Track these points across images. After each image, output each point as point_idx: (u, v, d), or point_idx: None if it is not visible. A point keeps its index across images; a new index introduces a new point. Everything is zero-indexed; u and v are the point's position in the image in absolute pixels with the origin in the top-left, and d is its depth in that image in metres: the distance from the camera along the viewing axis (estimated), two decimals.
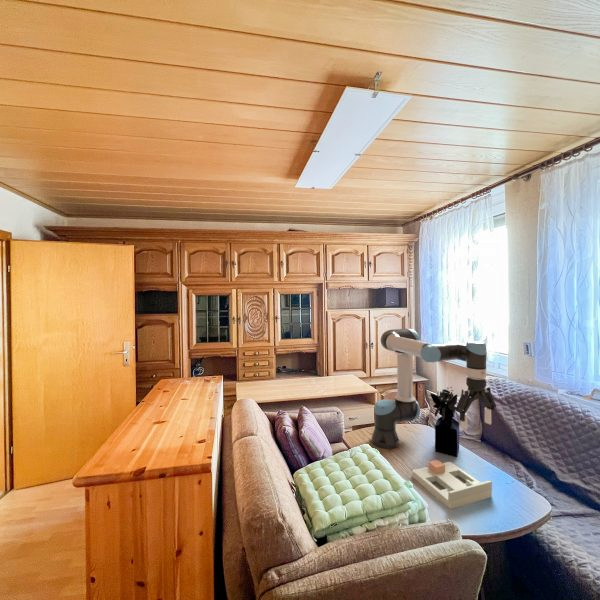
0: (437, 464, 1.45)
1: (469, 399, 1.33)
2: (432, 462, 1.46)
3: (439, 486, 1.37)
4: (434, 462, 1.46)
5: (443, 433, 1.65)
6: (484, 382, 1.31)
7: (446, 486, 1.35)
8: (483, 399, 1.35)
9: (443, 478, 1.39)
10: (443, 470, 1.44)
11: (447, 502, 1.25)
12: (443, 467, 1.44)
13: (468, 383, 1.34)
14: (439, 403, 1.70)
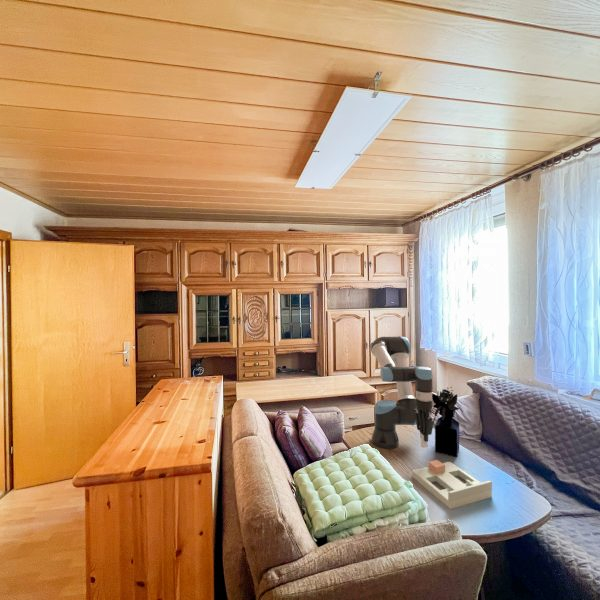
0: (437, 464, 1.45)
1: None
2: (432, 462, 1.46)
3: (439, 486, 1.37)
4: (434, 462, 1.46)
5: (443, 433, 1.65)
6: (418, 402, 1.51)
7: (446, 486, 1.35)
8: None
9: (443, 478, 1.39)
10: (443, 470, 1.44)
11: (447, 502, 1.25)
12: (443, 467, 1.44)
13: None
14: (439, 403, 1.70)
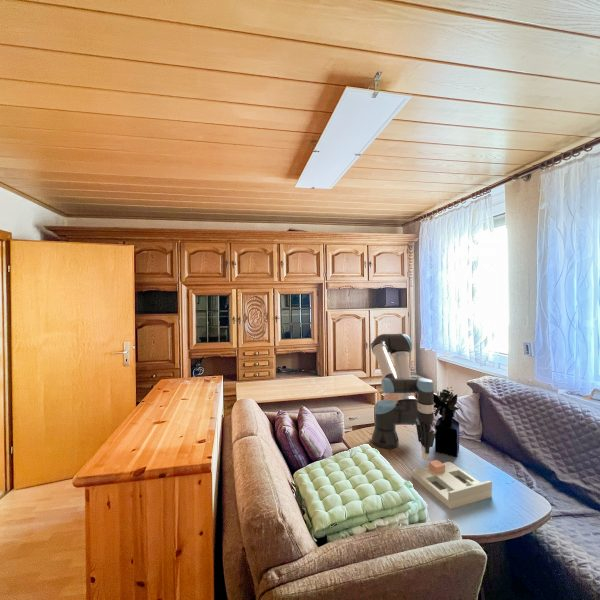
0: (437, 464, 1.45)
1: None
2: (432, 462, 1.46)
3: (439, 486, 1.37)
4: (434, 462, 1.46)
5: (443, 433, 1.65)
6: (419, 415, 1.50)
7: (446, 486, 1.35)
8: None
9: (443, 478, 1.39)
10: (443, 470, 1.44)
11: (447, 502, 1.25)
12: (443, 467, 1.44)
13: None
14: (439, 403, 1.70)
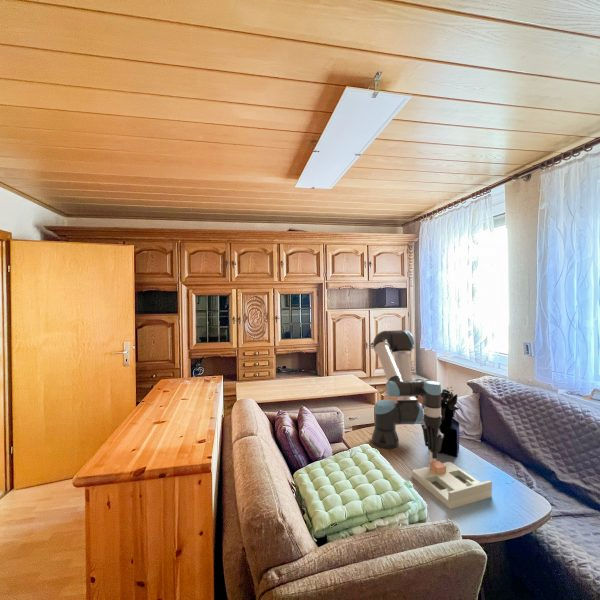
0: (438, 465, 1.44)
1: None
2: (433, 463, 1.46)
3: (439, 486, 1.37)
4: (435, 463, 1.46)
5: (443, 433, 1.65)
6: (426, 418, 1.46)
7: (446, 486, 1.35)
8: None
9: (443, 478, 1.39)
10: (444, 471, 1.43)
11: (447, 502, 1.25)
12: (444, 468, 1.43)
13: None
14: None
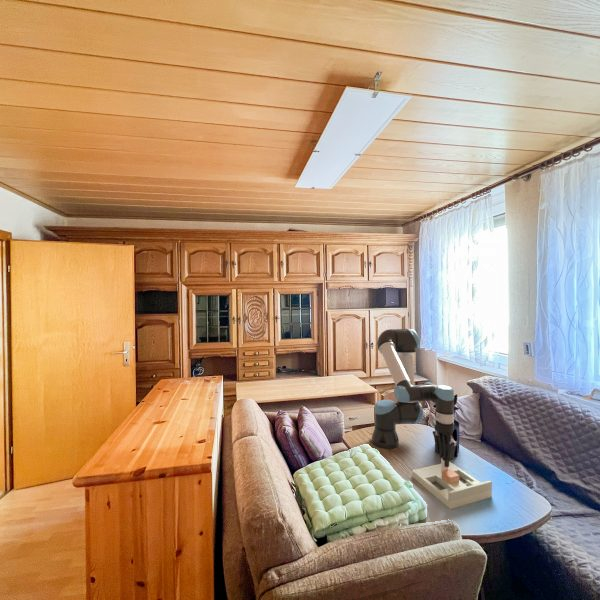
0: (451, 474, 1.37)
1: None
2: (445, 472, 1.38)
3: (439, 486, 1.37)
4: (448, 472, 1.38)
5: None
6: (438, 425, 1.38)
7: (446, 486, 1.35)
8: None
9: None
10: (457, 480, 1.36)
11: (447, 502, 1.25)
12: (457, 477, 1.36)
13: None
14: None
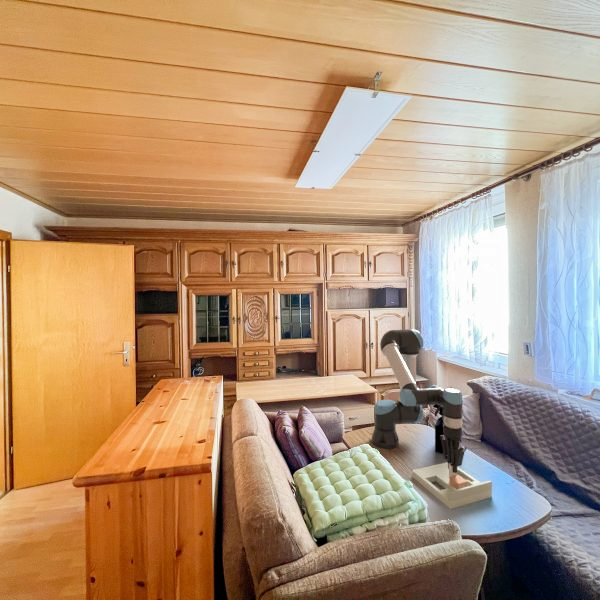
0: (459, 479, 1.33)
1: None
2: (453, 477, 1.34)
3: (439, 486, 1.37)
4: (456, 477, 1.34)
5: (443, 433, 1.65)
6: (446, 429, 1.34)
7: (446, 486, 1.35)
8: None
9: (443, 478, 1.39)
10: (466, 486, 1.31)
11: (447, 502, 1.25)
12: (466, 483, 1.31)
13: None
14: None
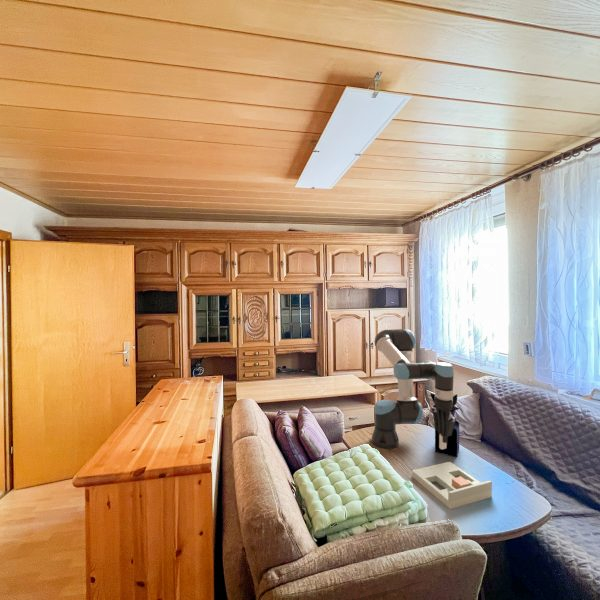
0: (462, 481, 1.31)
1: None
2: (456, 479, 1.33)
3: (439, 486, 1.37)
4: (458, 479, 1.33)
5: None
6: (437, 401, 1.39)
7: (446, 486, 1.35)
8: None
9: (443, 478, 1.39)
10: None
11: (447, 502, 1.25)
12: (468, 485, 1.30)
13: None
14: None
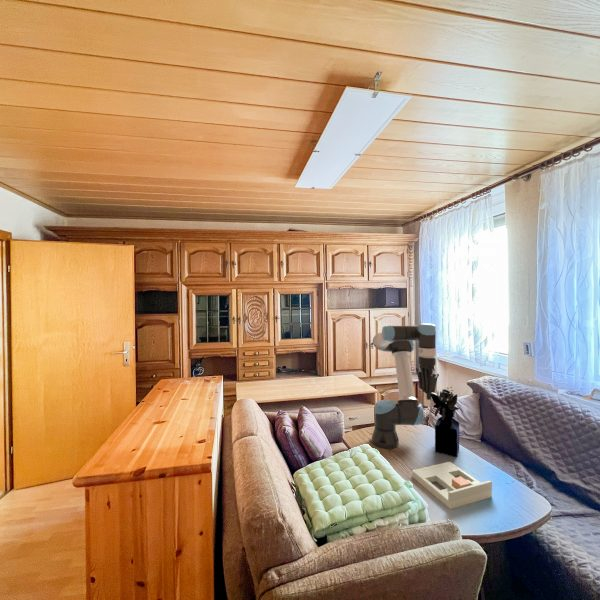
0: (462, 481, 1.31)
1: None
2: (456, 479, 1.33)
3: (439, 486, 1.37)
4: (458, 479, 1.33)
5: (443, 433, 1.65)
6: (421, 359, 1.45)
7: (446, 486, 1.35)
8: None
9: (443, 478, 1.39)
10: None
11: (447, 502, 1.25)
12: (468, 485, 1.30)
13: None
14: (439, 403, 1.70)
